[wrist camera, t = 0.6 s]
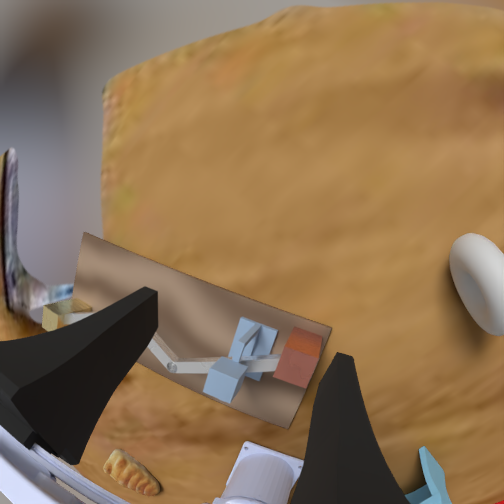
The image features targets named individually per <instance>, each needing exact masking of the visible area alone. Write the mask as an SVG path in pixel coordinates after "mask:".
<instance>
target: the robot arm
mask: <svg viewBox="0 0 504 504" xmlns="http://www.w3.org/2000/svg"><path fill="white" fill-rule="evenodd" d="M157 329H158V291H156V290H153V289H151V288H148V287H146V286H144V287H142V288H141V289H139V290H137V291H135V292H133V293H131V294H130V295H128V296H126V297H124V298H122V299H121V300H119V301H117V302H115V303H113V304H111V305H109V306H108V307H106V308H104V309H102V310H100V311H98V312H96V313H94V314H92V315H90V316H88V317H86V318H83V319H81V320H79V321H77V322H74V323H72V324H70V325H67V326H64V327H61V328H59V329H56V330H53V331H49V332H46V333H42V334H39V335H35V336H31V337H26V338H21V339H16V340H9V341H0V491H1V492H2V493H3V494H4V495H5V496H6V497H7V498H8V499H9V500H10V501H11V502H12V503H13V504H85V503H84V502H82V501H81V500H79V499H78V498H77V497H75V496H74V495H73V494H72V493H70V492H68V491H67V490H66V489H64V488H63V487H62V486H60V485H59V484H57V483H56V478H55V477H57V478H58V479H60V480H61V481H63V482H64V483H65V484H67V485H68V486H70V487H71V488H73V489H74V490H76V491H77V492H79V493H81V494H82V495H84V496H85V497H87V498H88V499H90V500H92V501H93V502H95V503H97V504H130V503H128V502H127V501H125V500H123V499H121V498H119V497H117V496H115V495H113V494H112V493H110V492H108V491H106V490H105V489H103V488H101V487H99V486H98V485H96V484H94V483H93V482H91V481H89V480H88V479H86V478H85V477H83V476H81V475H80V474H78V473H77V472H75V471H74V470H72V469H71V468H69V467H68V466H66V465H65V464H63V463H62V462H60V461H59V460H58V459H56V458H55V457H53V456H52V455H51V453H52V454H53V455H55V456H56V457H60V458H61V459H63V460H64V461H66V462H67V463H69V464H70V465H76V464H79V462H80V459H81V457H82V454H83V452H84V450H85V447H86V445H87V442H88V440H89V438H90V436H91V434H92V432H93V430H94V427H95V425H96V423H97V421H98V419H99V418H100V416H101V414H102V412H103V410H104V408H105V406H106V405H107V403H108V401H109V399H110V398H111V396H112V394H113V392H114V391H115V389H116V388H117V386H118V385H119V384H120V382H121V381H122V380H123V378H124V377H125V376H126V374H127V373H128V372H129V370H130V369H131V368H132V366H133V365H134V364H135V363H136V361H137V360H138V359H139V357H140V356H141V355H142V353H143V352H144V351H145V349H146V348H147V346H148V345H149V343H150V341H151V340H152V338H153V336H154V334H155V332H156V331H157ZM246 447H248V448H246ZM299 466H302V467H299ZM299 476H300V477H299ZM298 477H299V480H298V483H297V486H296V489H295V492H294V495H293V497H292V500H291V503H290V504H410V502H409V501H408V500H407V498H406V497H405V495H404V494H403V492H402V490H401V489H400V487H399V486H398V484H397V482H396V480H395V478H394V477H393V475H392V473H391V471H390V469H389V467H388V465H387V463H386V461H385V459H384V457H383V455H382V453H381V450H380V448H379V446H378V443H377V441H376V438H375V436H374V433H373V430H372V427H371V424H370V421H369V418H368V415H367V412H366V408H365V405H364V401H363V398H362V394H361V390H360V386H359V382H358V378H357V373H356V368H355V363H354V359H353V357H352V356H349V355H346V354H342V353H339V352H337V353H336V355H335V357H334V359H333V360H332V362H331V364H330V366H329V368H328V369H327V371H326V373H325V374H324V376H323V378H322V380H321V381H320V383H319V387H318V390H317V394H316V398H315V402H314V405H313V411H312V418H311V424H310V430H309V437H308V443H307V449H306V454H305V459H304V460H301V459H298V458H294V457H291V456H288V455H285V454H282V453H279V452H277V451H274V450H271V449H268V448H265V447H263V446H260V445H257V444H255V443H252V442H249V441H246V442H245V443H244V445H243V447H242V449H241V452H240V454H239V456H238V458H237V461H236V463H235V465H234V468H233V470H232V472H231V474H230V476H229V479H228V481H227V483H226V486H227V487H226V488H225V490H224V492H223V494H222V496H221V497H220V498H215V499H214V501H213V503H212V504H287V502H288V498H289V494H290V491H291V489H292V487H293V485H294V484H295V482H296V481H297V479H298ZM203 504H209V503H203Z"/></svg>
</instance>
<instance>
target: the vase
mask: <svg viewBox="0 0 504 504" xmlns="http://www.w3.org/2000/svg"><path fill="white" fill-rule="evenodd" d="M419 453H420V459H421V464H422V469H423V473H424V476H425V480H426V482H427V484H426V485H424V486H423V487H421V488H419V489H417V490H416V491H414V492H412V493H409V494H406V495H405V497H406V498H407V500H408V501H409V502H410V504H452V503H451V501H450V499H449V497H448V494H447V490H446V485H445V474H444V471H443V469H442V468H441V467H440V465H439V464H438V463H437V461H436V460H435V459H434V458H433V456H432V455H431V454H430V452H429V451H428V450H427V449H426V447H425V446H423V447H421V448H420V449H419Z"/></svg>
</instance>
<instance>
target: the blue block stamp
mask: <svg viewBox="0 0 504 504" xmlns="http://www.w3.org/2000/svg"><path fill="white" fill-rule="evenodd" d="M277 332H278V330H277V329H274V328H271V327H268V326H266V325H263V324H260V323H258V322H255V321H252V320H250V319H247V318H245V317H241V318H240V321H239V324H238V327H237V330H236V333H235V336H234V340H233V343H232V346H231V349H230V352H229V355H228V357H233V358H232V360H230V359H228V358H225V357H223V356H222V357H221V358H220V359H219V360H218V361H217V362H216V363H214V364H213V365H212V366H211V367H210V369H209V373H208V376H207V379H206V383H205V386H204V389H203V392H204V393H206V394H209V395H211V396H213V397H215V398H218V399H219V400H221V401H224V402H227V403H229V404H230V403H231V402H232V400H233V399H234V397H235V396H236V394H237V393H238V392H239V390H240V388H241V385H242V383H243V380H244V377H245V376H247V377H249V378H252V379H254V380H257V381H260V379H261V376H262V374H263V372H249V373H246V371H247V368H248V367H247V366H245V365H242V364H240V360H241V357H242V356H256V355H270V352H271V349H272V346H273V344H274V341H275V338H276V335H277Z"/></svg>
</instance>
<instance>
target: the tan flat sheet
mask: <svg viewBox="0 0 504 504" xmlns="http://www.w3.org/2000/svg"><path fill="white" fill-rule="evenodd" d="M144 286H146V287H148V288H151V289H153V290H156V291H158V329H157V331H156V333H157V334H158V335H159V336H160V338H161V339H162V340H163V341H164V342H165V343H166V344H167V345H168V347H169V348H170V349H171V350H172V351H173V352H174V353H175V354H176V355H177V357H178V358H212V357H222V356H223V357H228V355H229V352H230V349H231V346H232V343H233V340H234V336H235V333H236V330H237V327H238V324H239V321H240V318H241V317H245V318H247V319H250V320H252V321H255V322H258V323H260V324H263V325H266V326H268V327H271V328H274V329H277V330H278V332H277V335H276V338H275V341H274V344H273V346H272V349H271V352H270V355H271V354H282V351H283V349H284V346H285V344H286V342H287V340H288V338H289V336H290V334H291V332H292V330H293V328H294V326H295V327H298V328H301V329H303V330H306V331H309V332H312V333H315V334H318V335H321V336H322V342H321V348H320V354H319V359H320V356H321V354H322V351H323V349H324V346H325V344H326V341H327V339H328V336H329V334H330V331H331V329H332V327H329V326H326V325H323V324H320V323H318V322H315V321H312V320H309V319H306V318H303V317H300V316H298V315H295V314H292V313H289V312H286V311H283V310H281V309H278V308H275V307H272V306H270V305H267V304H264V303H261V302H259V301H256V300H253V299H250V298H248V297H245V296H242V295H240V294H237V293H234V292H232V291H229V290H226V289H224V288H221V287H219V286H216V285H213V284H211V283H208V282H206V281H203V280H200V279H198V278H195V277H193V276H190V275H188V274H185V273H183V272H180V271H178V270H175V269H173V268H170V267H168V266H165V265H163V264H160V263H158V262H155V261H153V260H150V259H148V258H145V257H143V256H141V255H138V254H136V253H133V252H131V251H129V250H126V249H124V248H121V247H119V246H117V245H114V244H112V243H110V242H107V241H105V240H103V239H100V238H98V237H96V236H93V235H91V234H89V233H86V232H84V233H83V238H82V243H81V248H80V253H79V259H78V264H77V270H76V276H75V282H74V288H73V295H72V299H75V298H78V299H80V300H82V301H83V302H85V303H87V304H88V305H90V306H92V312H97V311H100V310H102V309H104V308H106V307H108V306H109V305H111V304H113V303H115V302H117V301H119V300H121V299H122V298H124V297H126V296H128V295H130V294H131V293H133V292H135V291H137V290H139V289H141V288H142V287H144ZM319 359H318V361H319ZM318 361H317V364H318ZM136 362H138V363H140V364H142V365H143V366H145V367H147V368H149V369H151V370H153V371H155V372H157V373H159V374H160V375H162V376H164V377H166V378H168V379H170V380H172V381H174V382H176V383H178V384H180V385H182V386H185V387H187V388H189V389H191V390H193V391H195V392H197V393H199V394H202V395H204V396H206V397H208V398H210V399H213V400H215V401H217V402H219V403H222V404H224V405H226V406H229V407H231V408H234V409H236V410H238V411H241V412H243V413H246V414H248V415H251V416H253V417H256V418H259V419H261V420H264V421H267V422H269V423H272V424H275V425H278V426H280V427H283V428H286V429H288V428H289V426H290V424H291V422H292V420H293V417H294V415H295V413H296V411H297V409H298V407H299V405H300V402H301V400H302V398H303V396H304V394H305V391H306V389H307V387H308V385H309V383H308V385H307V387H306V388H303V387H300V386H297V385H294V384H291V383H289V382H286V381H283V380H280V379H278V378H275V377H273V375H274V372H275V371H269V372H263V374H262V376H261V379H260V381H257V380H254V379H252V378H249V377H247V376H245V377H244V380H243V383H242V385H241V388H240V390H239V392H238V393H237V394H236V396H235V397H234V399H233V400H232V402H231V403H230V404H229V403H227V402H224V401H221V400H219V399H218V398H215V397H213V396H211V395H209V394H206V393H204V392H203V389H204V386H205V383H206V379H207V376H208V373H171V372H169V371H168V370H167V369H166V367H165V366H164V365H163V364H162V363H161V362H160V361H159V360H158V358H157V357H156V356H155V355H154V354H153V353H152V352H151V350H150V349H149V348H148V347H147V348H146V349H145V351H144V352H143V353H142V355H141V356H140V357H139V359H138V360H137V361H136ZM317 364H316V366H317ZM316 366H315V368H316ZM314 371H315V369H314ZM314 371H313V373H314ZM313 373H312V375H313ZM311 378H312V376H311ZM311 378H310V380H311ZM310 380H309V382H310Z"/></svg>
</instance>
